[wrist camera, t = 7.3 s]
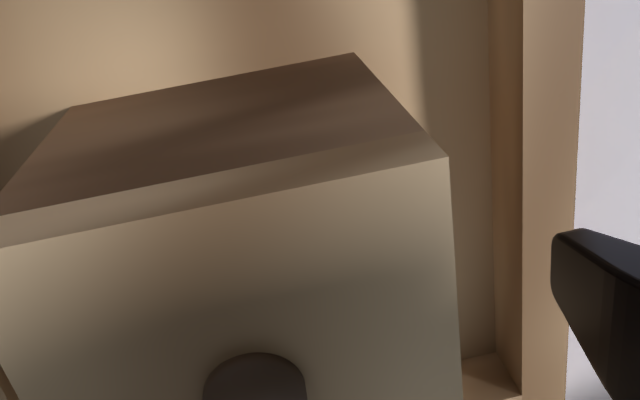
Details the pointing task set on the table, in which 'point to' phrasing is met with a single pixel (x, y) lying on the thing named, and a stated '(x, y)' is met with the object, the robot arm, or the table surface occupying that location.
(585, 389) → the table surface
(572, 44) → the caddy
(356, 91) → the beige box
